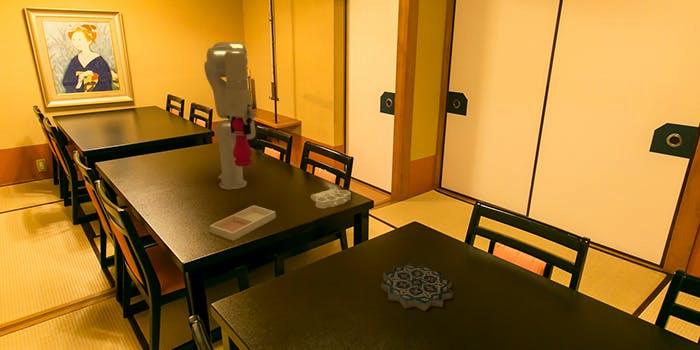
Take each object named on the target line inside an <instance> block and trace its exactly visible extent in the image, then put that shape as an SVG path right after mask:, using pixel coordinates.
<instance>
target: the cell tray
mask: <svg viewBox="0 0 700 350" xmlns="http://www.w3.org/2000/svg"><path fill="white" fill-rule="evenodd" d="M276 217H277V214H276V211H275V210H271V209H267V208H264V207H261V206H259V205H251V206H249V207H247V208H244V209H243V210H239V211H238V212H236V213H234V214H231V215H230V216H227V217H225V218H223V219H221V220H218V221H216V222H214V223H212V224H210V225H209V233H210V234H212V235H215V236H218V237H221V238H223V239H226V240H229V241H232V242H234V241H237V240H238V239H241V238H242V237H244V236H246V235H248V234H249V233H252V232H253V231H255V230H257V229H260V227H262V226H264V225H266V224H268V223H270V222H272V221H274V220H275V219H276Z"/></svg>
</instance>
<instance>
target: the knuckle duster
mask: <svg viewBox="0 0 700 350" xmlns="http://www.w3.org/2000/svg"><path fill="white" fill-rule="evenodd" d="M351 195H352V193H351V191H350V190H348V189H335V188H330V189H327V190H325V191H323V190H322V191H321V192H317V193H313V194H311V195H310V199H311V200H312V201H314V202H315V208H318V209H327V208H331V207H332V208H334V207H338V206H339V205H345V204H346V203H347V202H348V201H351V199H352V197H351Z"/></svg>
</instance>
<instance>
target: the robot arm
mask: <svg viewBox="0 0 700 350" xmlns="http://www.w3.org/2000/svg"><path fill="white" fill-rule="evenodd" d="M247 52H248V51H247V48H246V46H245V45H244V43H242V42H235V41H234V42H233V41H231V42H229V41H228V42H225V41H223V42H222V41H221V42H217V43H215V44H214V45H213V46H212V47H209V48H208V49H207V52H206V60H205V62H204V66H203V67H204V74H205V77H206V80H207V81H208V84H209V86H210V88H211V89H212V90H211V91H212V93H213V98H214V106H215V112H216V114H217V116H218V117H219V118H220V119H225V120H221V121H218V122H217V124H216V125H215V133H216V136H217V140H218V146H219V147H218V148H219V153H220V157H219V158H220V167H221V173H220V174H219V175H218V176H217V178H218V179H219V180H220V181H221V182H220V183H219V187H220V188H221V189H223V190H228V191H229V190H231V191H232V190H238V189H243V188H245V187H246V186H247V184H248V181H247V180H245V179H244V174H243V173H244V172H243V166H236V165H235V160H236V158H235V157H234V156H233V150H234V147H235V144H236V135H235V134H234V133H235V132H234V131H235V129H234V128H233V126H232V123H233V121H234V119H236V118H238V117H242V118H243V121H244V125H243V129H244V135H247V140H252V139H254V138H255V137H256V125H255V120H254V119H255V118H256V117H257V114H256V113H255V112H254V110H253V103H252V98H251V91H250V89H249V83H248V82H249V81H248V70H247V68H248V67H247V66H248V53H247ZM223 78H226V81H225V79H223ZM226 119H227V120H226Z"/></svg>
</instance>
